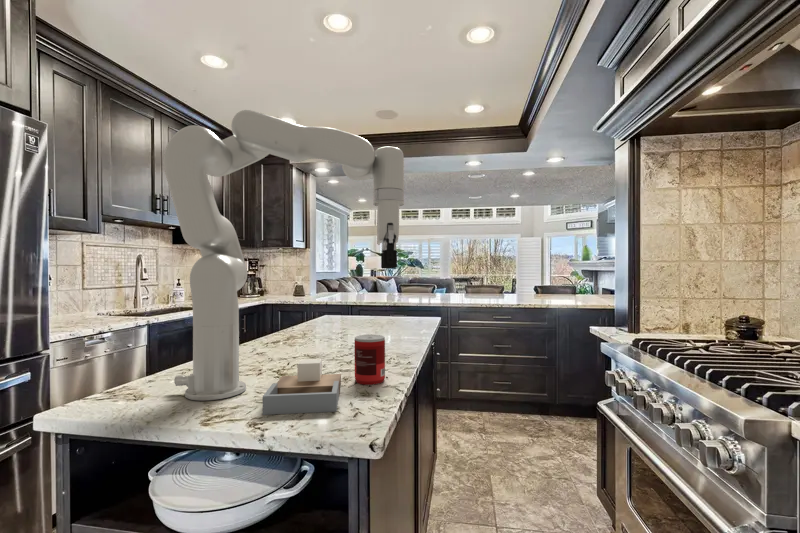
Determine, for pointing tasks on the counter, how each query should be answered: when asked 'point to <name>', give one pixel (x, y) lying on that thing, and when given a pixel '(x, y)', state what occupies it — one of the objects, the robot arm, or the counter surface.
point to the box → (300, 401)
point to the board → (307, 384)
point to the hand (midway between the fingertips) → (388, 268)
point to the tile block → (309, 369)
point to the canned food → (369, 359)
